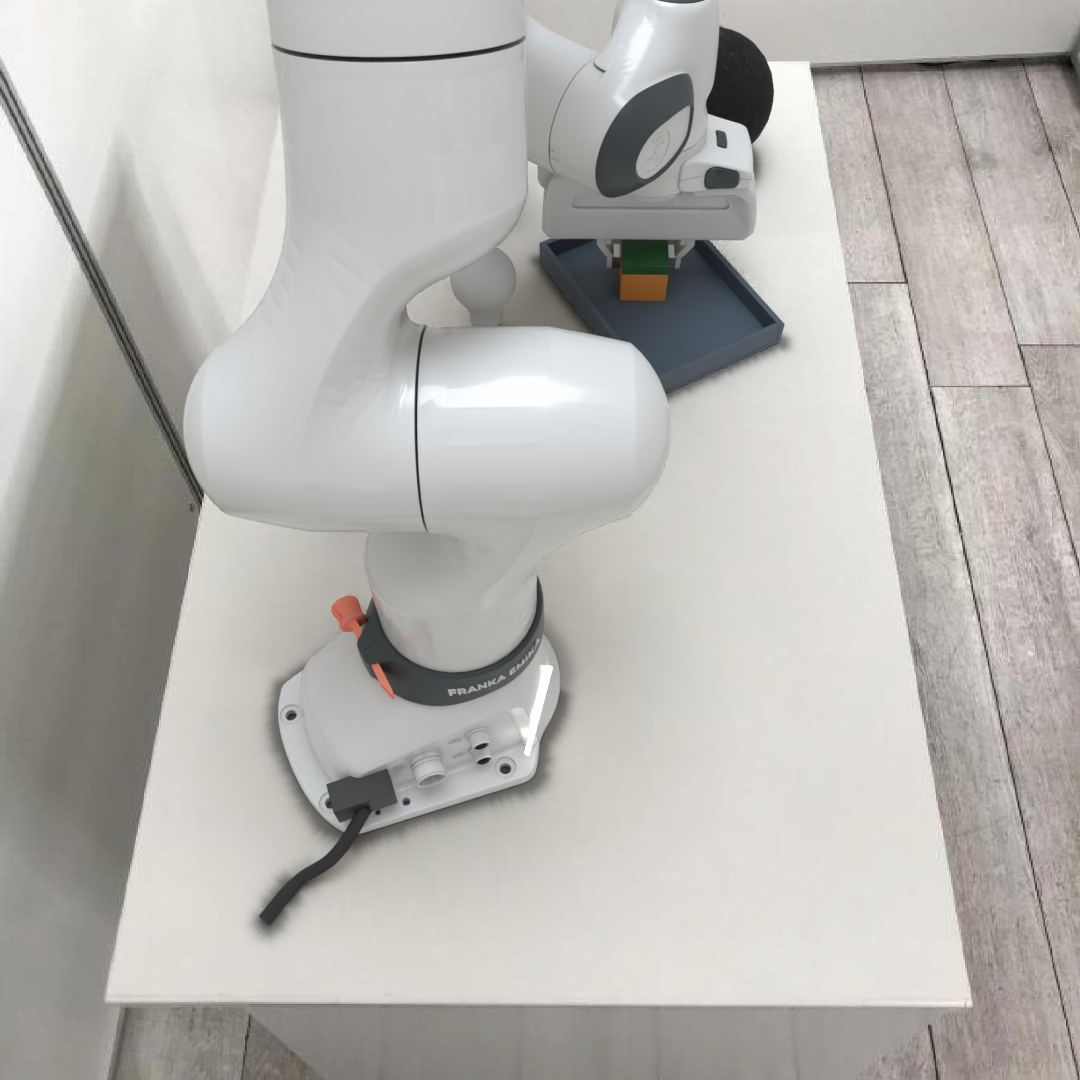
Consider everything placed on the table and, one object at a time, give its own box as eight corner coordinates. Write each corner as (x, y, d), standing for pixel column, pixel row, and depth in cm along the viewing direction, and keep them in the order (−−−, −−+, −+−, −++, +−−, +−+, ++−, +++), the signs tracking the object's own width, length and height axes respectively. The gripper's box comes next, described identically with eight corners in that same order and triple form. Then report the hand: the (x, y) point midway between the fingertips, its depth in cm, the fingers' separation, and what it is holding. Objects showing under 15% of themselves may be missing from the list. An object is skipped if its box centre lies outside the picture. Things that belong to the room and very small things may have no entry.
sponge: (665, 301, 106) (669, 266, 102) (619, 301, 106) (622, 265, 102) (662, 251, 110) (666, 214, 106) (618, 250, 110) (621, 214, 106)
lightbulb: (517, 361, 103) (514, 278, 94) (454, 361, 103) (445, 278, 94) (519, 314, 106) (516, 230, 97) (458, 314, 107) (449, 229, 97)
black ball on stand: (633, 127, 121) (643, 2, 108) (749, 122, 121) (772, -4, 108) (646, 208, 114) (658, 84, 101) (769, 201, 114) (796, 77, 101)
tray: (647, 402, 100) (649, 384, 98) (539, 261, 110) (539, 242, 108) (780, 342, 104) (784, 323, 102) (664, 211, 114) (666, 191, 112)
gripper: (536, 172, 93) (538, 286, 105) (770, 174, 93) (746, 288, 105) (538, 125, 97) (540, 240, 108) (764, 126, 96) (741, 242, 108)
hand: (643, 264), depth 107 cm, fingers closed on sponge, 4 cm apart
